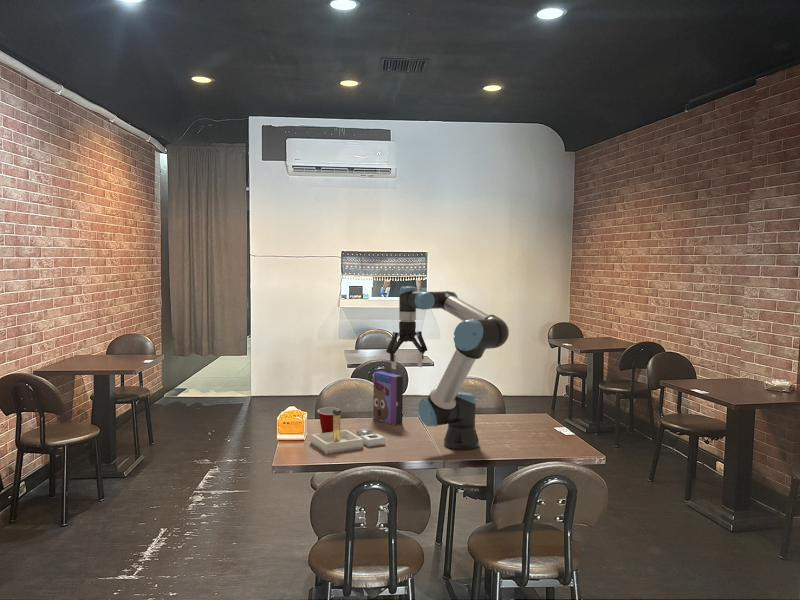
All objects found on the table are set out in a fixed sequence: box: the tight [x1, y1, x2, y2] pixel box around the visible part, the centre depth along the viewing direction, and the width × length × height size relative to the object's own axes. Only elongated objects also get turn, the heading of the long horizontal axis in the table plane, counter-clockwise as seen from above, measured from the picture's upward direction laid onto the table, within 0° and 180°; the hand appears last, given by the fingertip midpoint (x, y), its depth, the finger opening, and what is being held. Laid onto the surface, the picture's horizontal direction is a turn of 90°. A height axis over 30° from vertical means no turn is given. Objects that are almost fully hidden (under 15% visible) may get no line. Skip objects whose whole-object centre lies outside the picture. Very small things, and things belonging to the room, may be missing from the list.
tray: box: [310, 429, 364, 455], centre depth 264 cm, size 17×17×4 cm
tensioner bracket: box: [355, 428, 386, 448], centre depth 272 cm, size 16×8×4 cm, turn 30°
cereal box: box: [372, 371, 404, 426], centre depth 308 cm, size 17×5×24 cm, turn 40°
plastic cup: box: [317, 406, 341, 433], centre depth 280 cm, size 11×11×12 cm
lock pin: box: [333, 409, 342, 442], centre depth 263 cm, size 4×4×14 cm
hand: (406, 367), depth 278 cm, fingers open, 13 cm apart
